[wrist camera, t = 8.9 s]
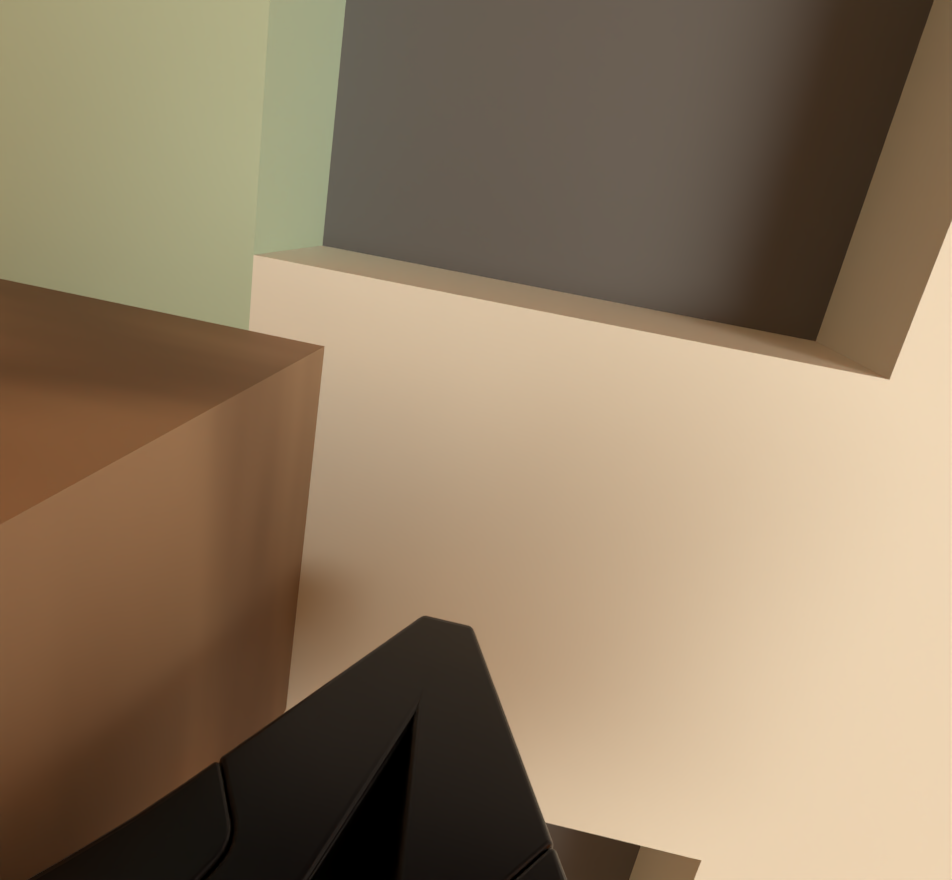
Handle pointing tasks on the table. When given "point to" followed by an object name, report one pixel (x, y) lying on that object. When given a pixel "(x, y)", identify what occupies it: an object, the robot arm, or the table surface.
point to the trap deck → (573, 369)
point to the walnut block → (139, 555)
